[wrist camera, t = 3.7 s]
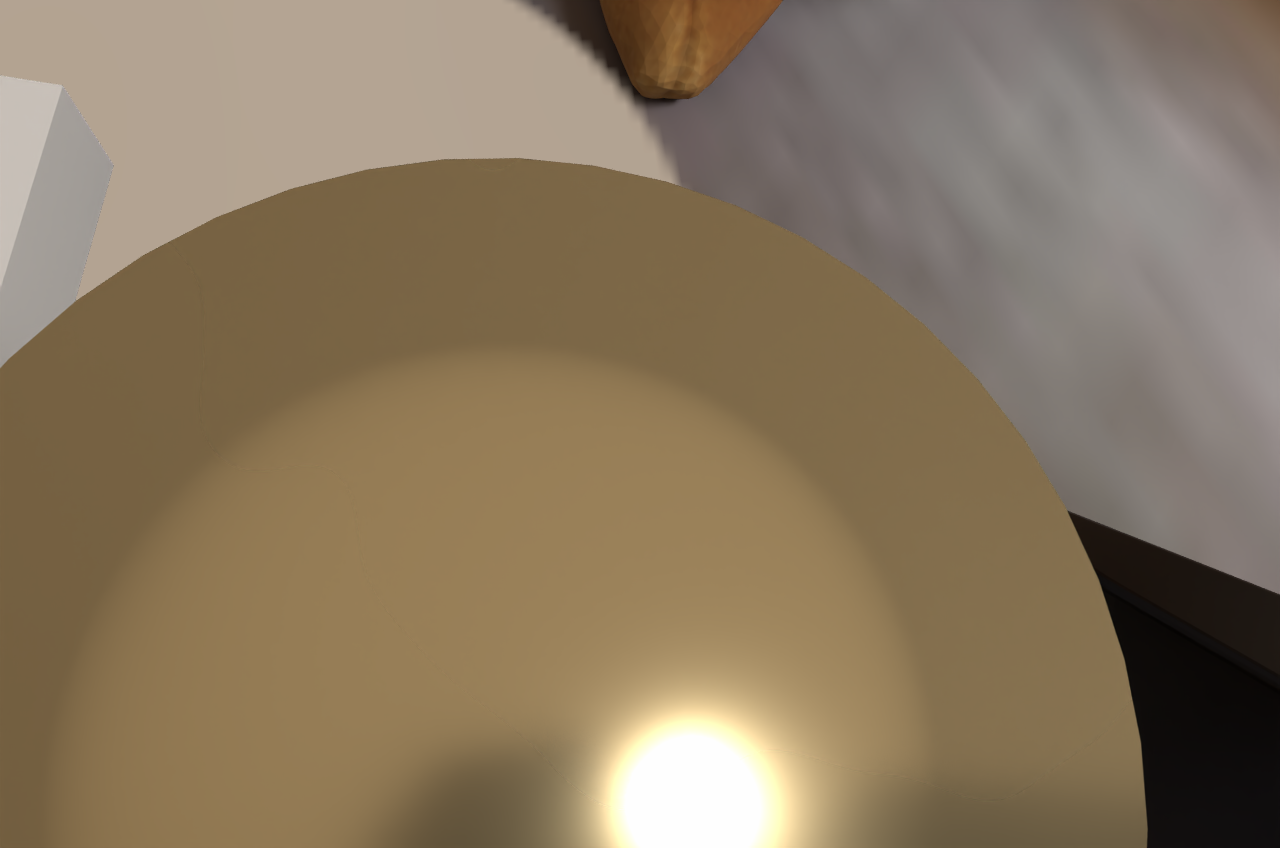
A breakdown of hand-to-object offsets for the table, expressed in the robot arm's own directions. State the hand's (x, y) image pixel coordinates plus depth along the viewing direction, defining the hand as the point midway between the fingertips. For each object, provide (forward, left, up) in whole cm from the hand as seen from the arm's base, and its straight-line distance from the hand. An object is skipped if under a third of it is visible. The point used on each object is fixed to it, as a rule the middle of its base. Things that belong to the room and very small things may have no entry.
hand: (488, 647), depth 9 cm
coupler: (-1, 0, -7) cm, 7 cm away
